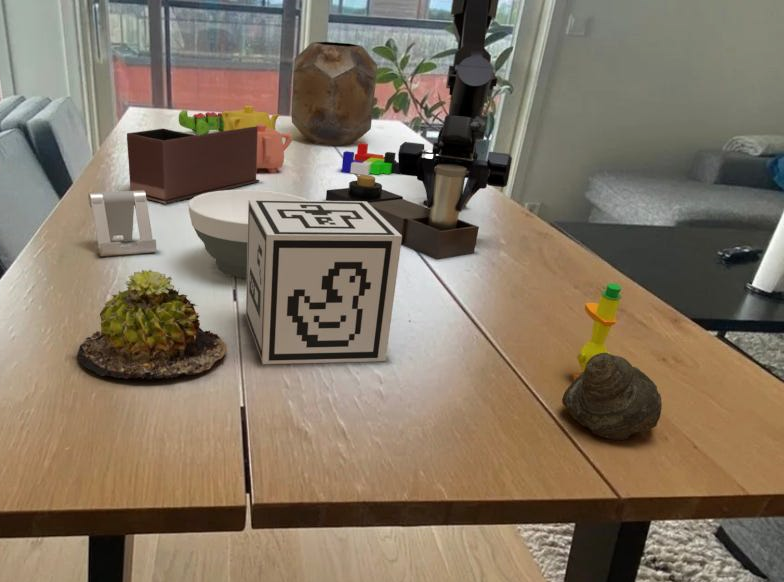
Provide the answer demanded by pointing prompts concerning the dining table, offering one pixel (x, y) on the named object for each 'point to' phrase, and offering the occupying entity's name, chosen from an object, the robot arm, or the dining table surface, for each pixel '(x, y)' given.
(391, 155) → the building blocks
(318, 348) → the block
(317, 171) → the dining table surface
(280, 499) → the dining table surface
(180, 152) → the desk organizer
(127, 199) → the tablet stand
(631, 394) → the seashell
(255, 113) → the teapot
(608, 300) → the toy figure
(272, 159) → the teapot
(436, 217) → the tin
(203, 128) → the toy crocodile
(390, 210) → the stepped brown tray
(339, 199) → the yellow push button box
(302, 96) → the planter
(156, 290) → the cactus
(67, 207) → the dining table surface
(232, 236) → the bowl
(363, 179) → the button
